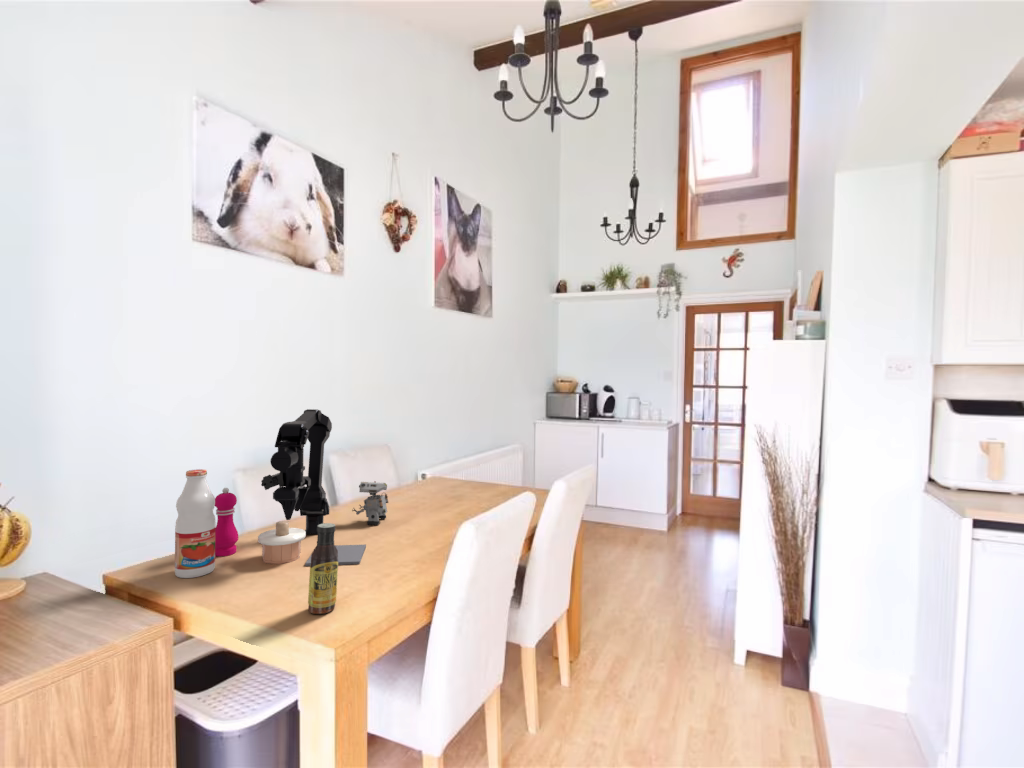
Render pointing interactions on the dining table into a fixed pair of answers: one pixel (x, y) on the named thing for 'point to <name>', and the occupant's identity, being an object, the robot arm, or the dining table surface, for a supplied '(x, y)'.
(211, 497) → the fruit juice
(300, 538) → the lid
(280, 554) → the bowl
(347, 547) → the mat
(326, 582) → the sauce bottle
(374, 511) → the figurine
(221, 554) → the pepper mill
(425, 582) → the dining table surface
